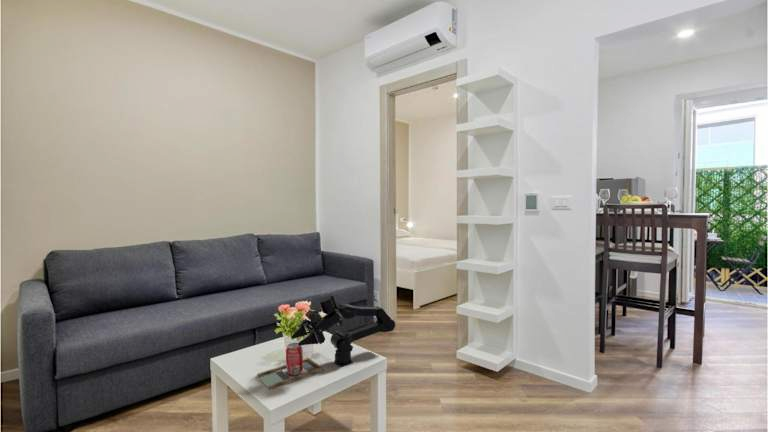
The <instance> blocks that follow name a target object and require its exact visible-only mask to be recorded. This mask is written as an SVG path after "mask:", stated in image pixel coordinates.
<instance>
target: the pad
mask: <svg viewBox="0 0 768 432" xmlns="http://www.w3.org/2000/svg"><path fill="white" fill-rule="evenodd" d="M258 379H259V380H260V381H261V382H262V383H263V385H265V386H266V388H269V385H272V384H275V383H278V382H281V381H284V380H283V379H281V378H280V377H279V376H278V375H277V374H276V373H275V372H274V373H270V374H267V375H264V376H261V377H258Z"/></svg>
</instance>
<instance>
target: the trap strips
mask: <svg viewBox="0 0 768 432" xmlns="http://www.w3.org/2000/svg"><path fill="white" fill-rule="evenodd" d="M303 369H306V371H308V372H310V371H313V370H316V369H317V368H316V367H314V366H313V365H312V364H310V363H309V362H304V363H303ZM274 373H276V374H277V375H278V376H279V377H280V378H281V379H283V380H287V379H290V378H291V377H290V376H289V375H287V373H285V371H283V370H280V371H277V372H274Z"/></svg>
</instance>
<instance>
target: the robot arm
mask: <svg viewBox="0 0 768 432" xmlns="http://www.w3.org/2000/svg"><path fill="white" fill-rule="evenodd" d="M318 304H319V307H320V309H321V311H322V313H323V314H325V315H323V316H321V314H320V313H319V312H316V313H315V312H314V311H313V310H312V309H308V311H307V312H306V313H305V314H304V316H305V317H307V318H308V320H307V318H305V320H303V321H302V322H303V323H302V322H301V321H300V325H299V327H298V329H297V330H296V331H295V332H294V333H293V334H292V335H291V336H290V337H291V339H297V338H301V337H304V338H303V339H301V340H300V341H298V342H297V343H298V345H299V346H301V347H302V346H308V345H319V344H320V345H322V344H323V343H325V340H326V337H325V334H324V332H329V331H330V328H332V327H333V326H335V325H338V326H339V327H342V325H343V321H344V320H343V319H345V320H349V319H354V318H355V317H375V318H376V321H375V322H372V323H371V324H367V325H364V326H362V327H359V328H357V329H354V330H351V331H348V330H346V329H344V328H343V329H339V330H336V331H335V332H334V333H332V335H331V336H330V339H329V340H330V344H332V345H333V347H334V348H335V353H334V361H333V363H335V364H337V365H338V366H339V367H346V366H348V365H350V364H353V363H354V361H353V360H352V353H351V352H352V351H353V349H354V346H353V345H352V344H353V342H355V341H359V340H361V339H364V338H367V337H369V336H372V335H374V334H377V333H390V332H393V331H394V330H395V327H396V322H395V320H394V319H392V318H391V317H390V316H389V315H388V314H387V312H386V311H385V310H384V308H382V307H380V306H377V305H376V306H354V305H352V304H348V303H344V302H342V303H339V304H337V303H336V301H335V296H334V295H333V294H330V295H326V296H322V297H320V298H319V300H318ZM341 317H342V318H343V319H342V318H341ZM308 330H309V332H306V331H308ZM305 336H306V337H305Z"/></svg>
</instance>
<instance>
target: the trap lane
mask: <svg viewBox="0 0 768 432" xmlns="http://www.w3.org/2000/svg"><path fill="white" fill-rule="evenodd" d="M306 362H308V363H310V364H311V365H312V366H314V367H315V368H317V369H316V370H313V371H310V372H309V371H308V372H305V373H302V374H301V373H300V374H297V375H295V376H293V377H290V379H287V380H284V381H281V382H278V383H275V384H272V385H269V387H268V390H273V389H276V388H278V387H282V386H284V385H286V384H287V385H288V384H289V383H293V382H296V381H298V380H302V379H304V378H307V377H309V376H312V375H316V374H319V373H321V372H323V371H324V368H323V367H322V366H321V365H320V364H319V363H317V362H315V361H314V360H313V359H311V358H310V357H307V359H306V358H303V363H306ZM281 370H282V371H283V370H287V367H286V364H284V365H281V366H278V367H275V368H271V369H268V370H264V371H262V372H259V373H258V372H257V374H256V375H257V376H256V377H257V378H259V377H263V376H266V375H269V374H272V373H275V372H278V371H281Z"/></svg>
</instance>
